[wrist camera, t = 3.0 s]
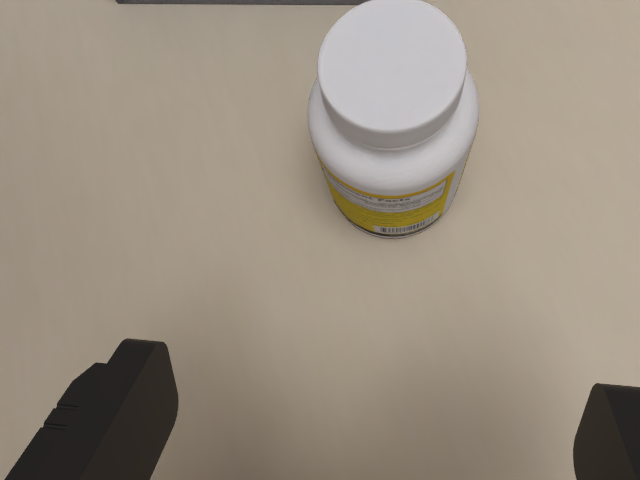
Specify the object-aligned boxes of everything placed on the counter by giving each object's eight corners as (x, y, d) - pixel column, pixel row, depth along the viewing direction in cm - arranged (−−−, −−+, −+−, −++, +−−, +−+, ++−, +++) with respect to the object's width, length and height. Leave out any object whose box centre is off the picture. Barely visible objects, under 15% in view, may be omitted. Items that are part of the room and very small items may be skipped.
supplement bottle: (378, 99, 25) (371, -62, 16) (481, 165, 24) (542, 33, 15) (304, 194, 25) (252, 86, 15) (406, 266, 24) (418, 198, 14)
